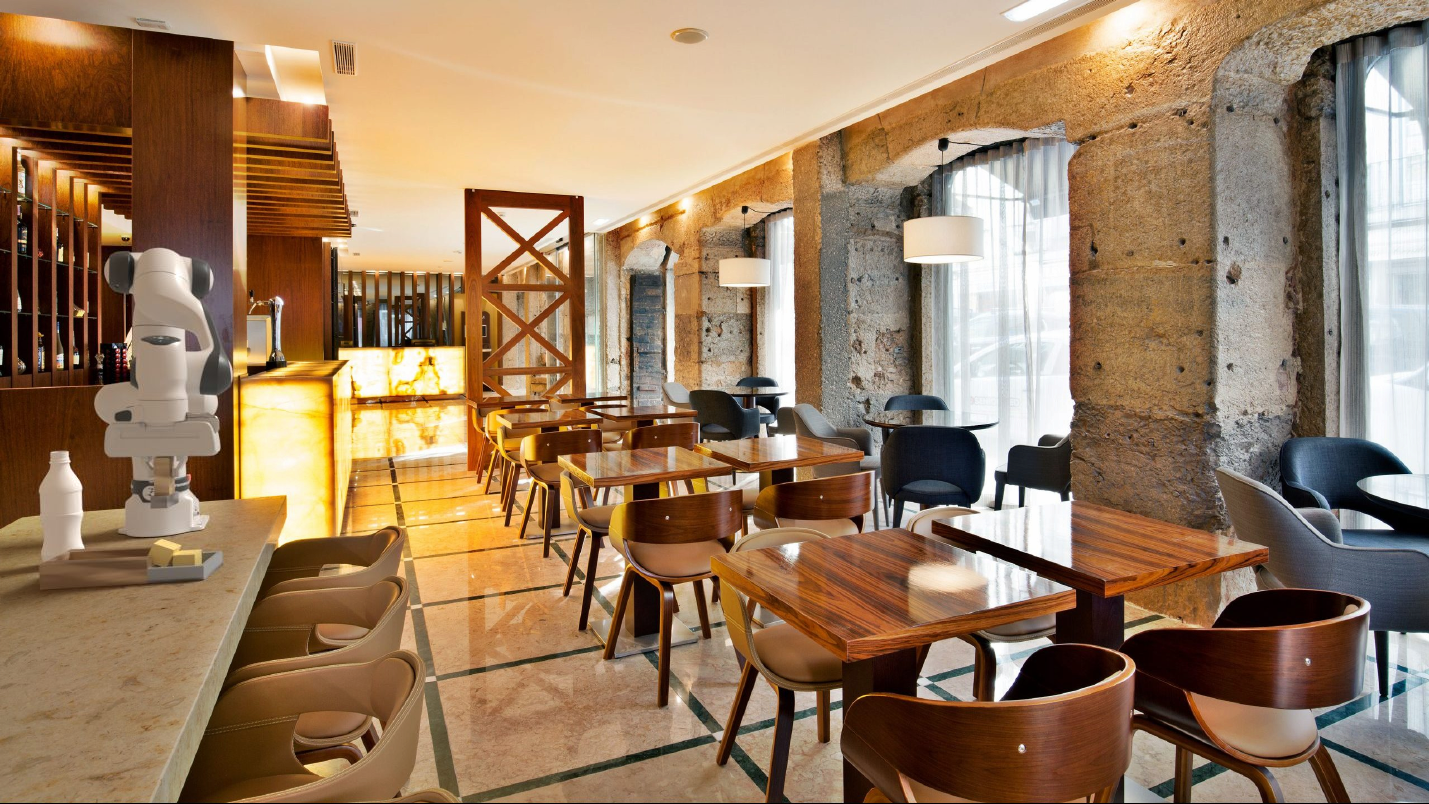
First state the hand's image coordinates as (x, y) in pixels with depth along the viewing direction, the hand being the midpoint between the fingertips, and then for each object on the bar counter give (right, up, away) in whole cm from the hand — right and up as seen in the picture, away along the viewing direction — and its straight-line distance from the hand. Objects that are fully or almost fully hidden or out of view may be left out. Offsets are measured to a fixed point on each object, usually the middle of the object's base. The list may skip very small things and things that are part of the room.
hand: (164, 477), depth 161 cm
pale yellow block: (+1, -16, -2) cm, 16 cm away
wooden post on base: (0, -6, 0) cm, 6 cm away
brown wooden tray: (-9, -21, -4) cm, 23 cm away
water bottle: (-26, -20, +5) cm, 33 cm away
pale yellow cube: (+5, -18, 0) cm, 19 cm away
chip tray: (+4, -21, 0) cm, 21 cm away
